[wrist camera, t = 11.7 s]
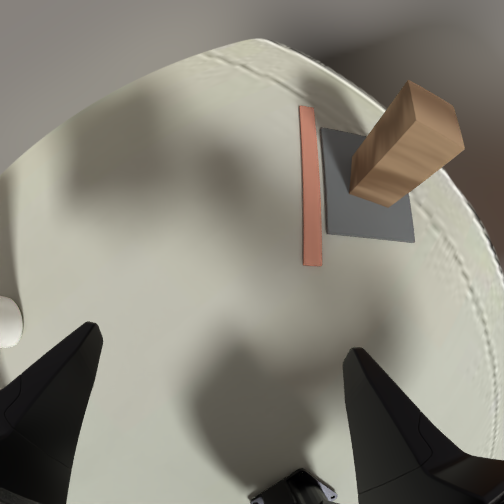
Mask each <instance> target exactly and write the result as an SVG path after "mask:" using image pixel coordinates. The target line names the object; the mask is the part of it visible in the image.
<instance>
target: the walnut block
mask: <svg viewBox="0 0 504 504" xmlns="http://www.w3.org/2000/svg"><path fill="white" fill-rule="evenodd" d="M464 149H465V148H464V144H463V139H462V135H461V131H460V128H459V124H458V120H457V117H456V114H455V110H454V107H453V106H452V105H450V104H449V103H447V102H446V101H444V100H442V99H441V98H439V97H438V96H436V95H434V94H433V93H431V92H429V91H427V90H426V89H424V88H422V87H420V86H418V85H417V84H415V83H413V82H411V81H409V80H408V81H407V82H406V83H405V85H404V86H403V88H402V89H401V91H400V92H399V93H398V95H397V96H396V97H395V99H394V100H393V102H392V103H391V105H390V106H389V107H388V109H387V110H386V111H385V113H384V114H383V115H382V117H381V118H380V120H379V121H378V122H377V124H376V125H375V126H374V128H373V129H372V131H371V132H370V133H369V135H368V136H367V137H366V139H365V140H364V141H363V143H362V144H361V145H360V147H359V148H358V149H357V151H356V152H355V153H354V155H353V156H352V164H351V177H350V188H349V194H351V195H354V196H357V197H359V198H362V199H365V200H368V201H371V202H374V203H376V204H379V205H382V206H385V207H387V208H389V207H390V206H392V205H393V204H394V203H396V202H397V201H398V200H400V199H401V198H402V197H404V196H405V195H406V194H408V193H409V192H410V191H412V190H413V189H414V188H416V187H417V186H418V185H420V184H421V183H422V182H424V181H425V180H426V179H427V178H429V177H430V176H431V175H433V174H434V173H435V172H436V171H438V170H439V169H440V168H442V167H443V166H444V165H445V164H447V163H448V162H449V161H450V160H452V159H453V158H454V157H455V156H457V155H458V154H459V153H460V152H462V151H463V150H464Z"/></svg>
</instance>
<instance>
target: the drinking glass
mask: <svg viewBox="0 0 504 504" xmlns="http://www.w3.org/2000/svg"><path fill="white" fill-rule="evenodd" d="M22 330H23V322H22V316H21V312H20V310H19V308H18V306H17V304H16V303H15V302H14V301H13V300H12V299H10V298H8V297H4V296H0V348H10V347H13V346H15V345H16V344H17V343H18V342H19V340H20V338H21V335H22Z"/></svg>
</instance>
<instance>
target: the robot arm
mask: <svg viewBox="0 0 504 504" xmlns="http://www.w3.org/2000/svg"><path fill="white" fill-rule="evenodd" d="M102 346H103V337H102V335H101V332H100V329H99V326H98V325H97V323H93V322H85V323H84V324H83V325H81V326H80V327H79V328H77V329H76V330H75V331H73V332H72V333H71V334H70V335H68V336H67V337H66V338H65V339H63V340H62V341H61V342H59V343H58V344H57V345H56V346H54V347H53V348H52V349H51V350H49V351H48V352H47V353H46V354H45V355H43V356H42V357H41V358H40V359H38V360H37V361H36V362H35V363H34V364H32V365H31V366H30V367H29V368H28V369H26V370H25V371H24V372H23V373H22V375H19V376H18V377H17V378H16V379H14V380H13V381H12V382H11V383H9V384H8V385H7V386H6V387H4V388H3V389H2V390H0V504H66V501H67V494H68V488H69V482H70V476H71V471H72V465H73V460H74V455H75V451H76V446H77V442H78V438H79V434H80V430H81V426H82V422H83V418H84V415H85V411H86V407H87V404H88V401H89V397H90V394H91V391H92V388H93V384H94V381H95V377H96V373H97V368H98V363H99V359H100V354H101V350H102ZM343 377H344V392H345V404H346V411H347V417H348V423H349V429H350V435H351V442H352V449H353V456H354V464H355V472H356V480H357V490H358V501H359V504H504V460H496V459H489V458H483V457H477V456H472V455H469V454H467V453H465V452H463V451H462V450H461V449H459V448H458V447H457V446H456V445H455V444H454V443H453V442H452V441H451V440H449V439H448V438H447V437H446V436H445V435H444V434H443V433H442V432H441V431H440V430H439V429H437V428H436V427H435V426H434V425H433V424H432V422H431V421H430V420H429V419H428V418H427V417H426V416H425V415H424V414H423V413H422V412H420V410H419V408H418V407H417V406H416V405H415V404H414V403H413V402H412V401H411V400H410V399H409V397H408V396H407V395H406V394H405V393H404V392H403V391H402V390H401V389H400V388H399V386H398V385H397V384H396V383H395V382H394V381H393V380H392V379H391V378H390V377H389V376H388V374H387V373H386V372H385V371H384V370H383V369H382V368H381V367H380V366H379V365H378V364H377V363H376V362H375V360H374V359H373V358H372V357H371V356H370V355H369V354H368V353H367V352H366V351H365V350H364V349H363V348H361V347H354V348H351V349H350V351H349V353H348V354H347V356H346V358H345V359H344V362H343ZM302 472H303V473H302ZM300 473H302V474H300ZM331 496H333V497H331ZM336 498H337V494H336V493H335V492H334V491H333V490H331V489H330V488H328V487H327V486H326V485H324V484H323V483H322V482H320V481H319V480H318V479H316V478H315V477H314V476H312V475H311V474H310V473H309V472H307V471H306V470H305V469H298V470H297V471H295V472H294V473H292V474H291V475H290V476H288V477H287V478H285V479H284V480H281V481H280V482H278V483H277V484H275V485H274V486H272V487H271V488H269V489H267V490H266V491H264V492H263V493H262V494H260V495H258V496H257V497H255V498H253V499H252V500H251V501H250V504H338V503H334V502H332V501H333V500H335V499H336ZM254 502H257V503H254Z"/></svg>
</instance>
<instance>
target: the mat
mask: <svg viewBox="0 0 504 504" xmlns="http://www.w3.org/2000/svg"><path fill="white" fill-rule="evenodd" d="M320 131H321V141H322V152H323V164H324V178H325V195H326V217H327V234H333V235H344V236H354V237H363V238H373V239H382V240H391V241H400V242H409V243H414V242H415V236H414V228H413V220H412V212H411V205H410V199H409V193H408V194H406V195H405V196H404V197H402V198H401V199H400V200H398V201H397V202H396V203H394V204H393V205H392V206H390V207H389V208H387V207H385V206H382V205H379V204H376V203H374V202H371V201H368V200H365V199H362V198H359V197H357V196H354V195H351V194H349V188H350V177H351V164H352V156H353V155H354V153H355V152H356V151H357V149H358V148H359V147H360V145H361V144H362V143H363V141H364V140H365V139H366V137H365V136H361V135H357V134H352V133H348V132H343V131H338V130H333V129H328V128H322V127H321V129H320Z"/></svg>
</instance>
